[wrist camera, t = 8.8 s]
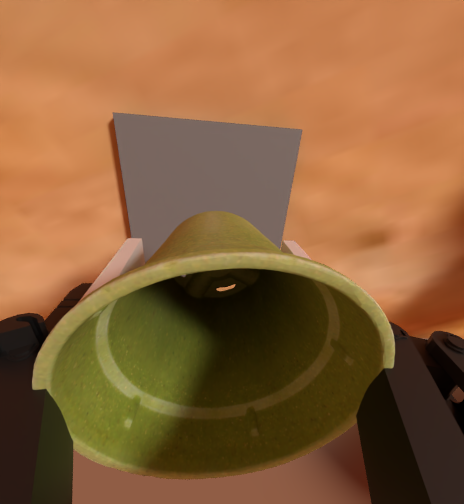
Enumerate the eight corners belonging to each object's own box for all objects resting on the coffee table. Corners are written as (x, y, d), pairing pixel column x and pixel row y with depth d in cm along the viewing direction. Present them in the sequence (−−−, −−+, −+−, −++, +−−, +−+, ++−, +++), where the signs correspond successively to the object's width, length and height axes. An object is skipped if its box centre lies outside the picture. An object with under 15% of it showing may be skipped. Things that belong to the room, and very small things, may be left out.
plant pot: (172, 329, 16) (144, 504, 8) (103, 208, 11) (-96, 344, 4) (295, 293, 16) (384, 437, 8) (273, 156, 11) (421, 189, 4)
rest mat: (298, 130, 20) (302, 129, 19) (272, 274, 27) (274, 278, 27) (116, 113, 18) (112, 112, 17) (140, 274, 25) (137, 279, 24)
